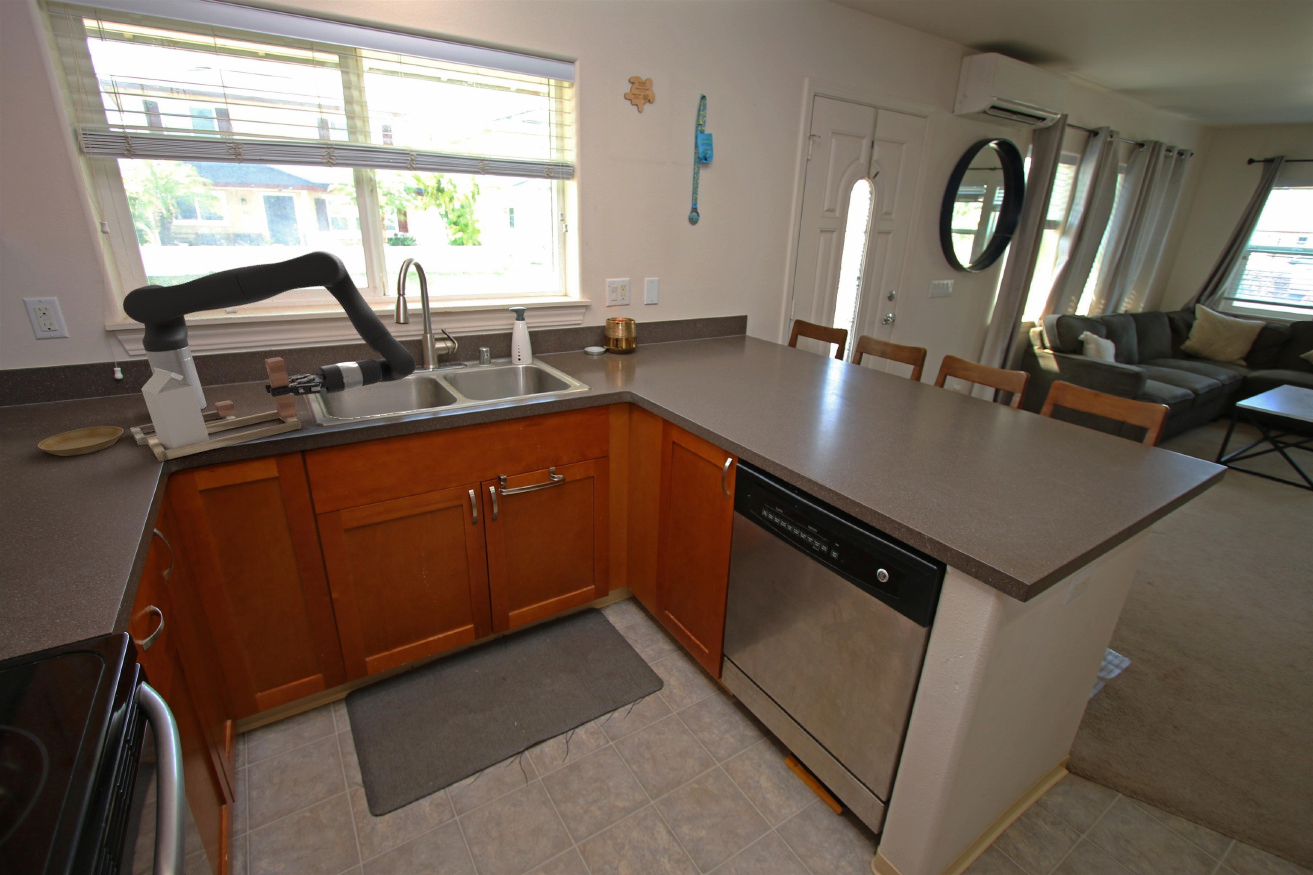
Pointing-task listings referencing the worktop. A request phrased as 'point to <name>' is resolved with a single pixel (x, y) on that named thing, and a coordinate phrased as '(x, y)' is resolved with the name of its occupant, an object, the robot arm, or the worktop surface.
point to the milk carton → (174, 410)
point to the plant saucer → (81, 440)
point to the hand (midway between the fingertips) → (268, 390)
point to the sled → (243, 420)
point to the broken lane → (223, 410)
